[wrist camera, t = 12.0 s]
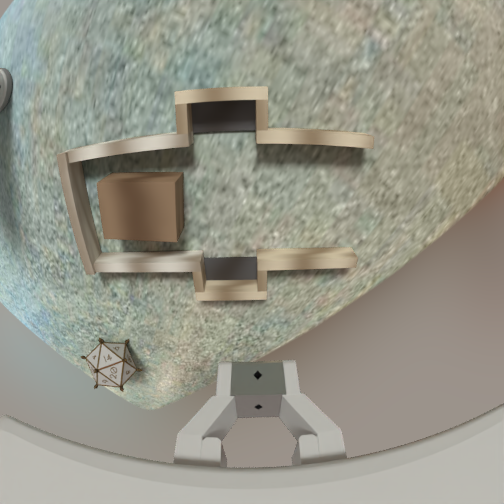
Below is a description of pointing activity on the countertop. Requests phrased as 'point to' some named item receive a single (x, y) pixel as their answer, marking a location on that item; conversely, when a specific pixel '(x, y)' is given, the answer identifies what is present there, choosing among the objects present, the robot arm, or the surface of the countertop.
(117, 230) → the walnut block
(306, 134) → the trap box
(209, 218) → the countertop surface
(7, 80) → the travel mug
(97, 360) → the game die
